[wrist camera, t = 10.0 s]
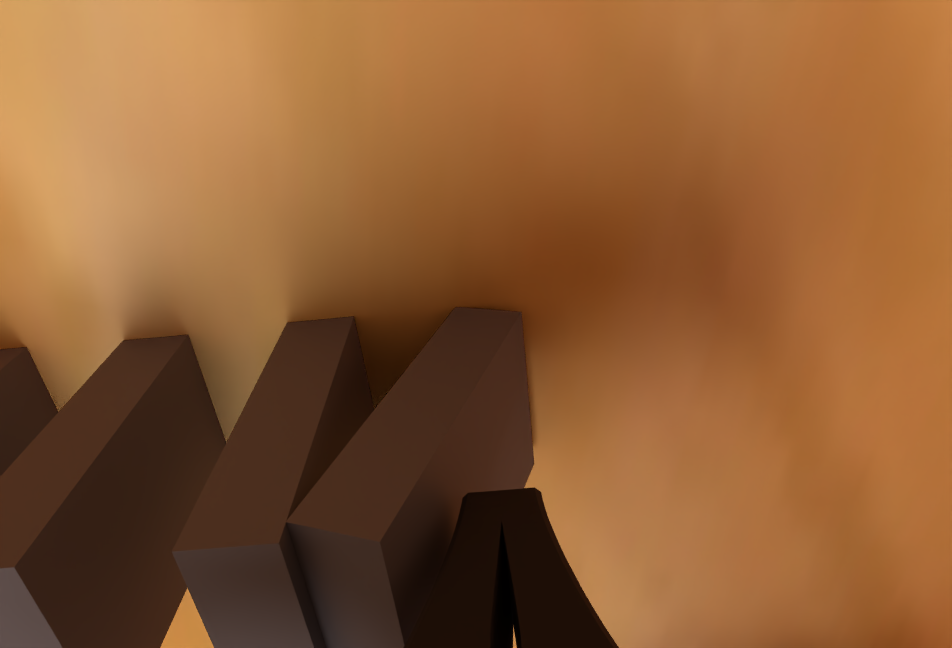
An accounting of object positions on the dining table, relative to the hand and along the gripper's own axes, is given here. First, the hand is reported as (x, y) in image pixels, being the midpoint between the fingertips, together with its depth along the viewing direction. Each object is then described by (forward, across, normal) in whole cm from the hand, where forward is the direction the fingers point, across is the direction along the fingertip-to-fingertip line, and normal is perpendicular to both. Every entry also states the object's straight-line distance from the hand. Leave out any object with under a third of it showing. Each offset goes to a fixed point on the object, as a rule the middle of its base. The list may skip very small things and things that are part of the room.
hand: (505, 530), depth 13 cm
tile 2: (+5, +4, 0) cm, 6 cm away
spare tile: (+5, +8, 0) cm, 9 cm away
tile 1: (+5, 0, 0) cm, 5 cm away
